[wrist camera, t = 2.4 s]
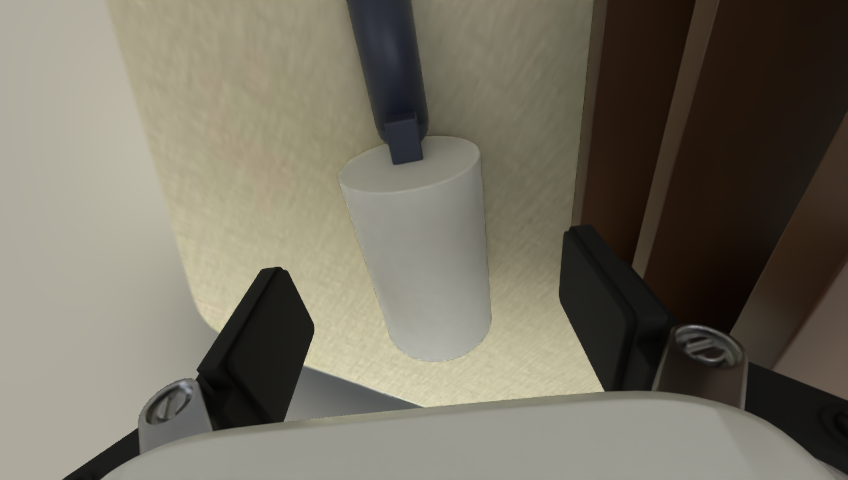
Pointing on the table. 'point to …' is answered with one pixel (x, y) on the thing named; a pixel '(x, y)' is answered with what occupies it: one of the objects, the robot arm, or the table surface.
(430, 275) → the lint roller
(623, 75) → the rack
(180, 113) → the table surface
